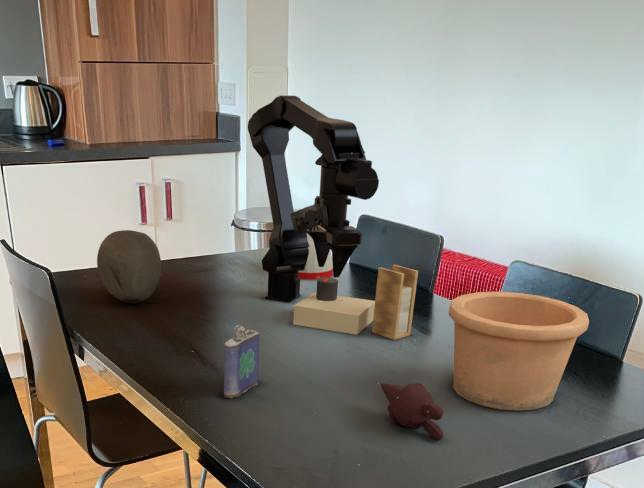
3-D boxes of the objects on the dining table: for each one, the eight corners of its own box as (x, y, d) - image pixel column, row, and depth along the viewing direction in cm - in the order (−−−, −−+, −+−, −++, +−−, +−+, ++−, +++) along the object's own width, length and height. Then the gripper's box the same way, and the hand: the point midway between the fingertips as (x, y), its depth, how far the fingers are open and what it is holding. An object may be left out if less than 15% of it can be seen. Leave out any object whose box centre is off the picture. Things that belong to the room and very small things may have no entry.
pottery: (481, 361, 147) (495, 284, 140) (592, 395, 134) (613, 312, 127) (412, 389, 134) (423, 305, 126) (527, 430, 120) (547, 339, 113)
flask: (233, 399, 127) (234, 335, 121) (218, 396, 128) (217, 332, 123) (261, 382, 134) (263, 321, 129) (246, 379, 135) (247, 318, 130)
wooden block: (291, 324, 163) (292, 304, 161) (313, 309, 174) (314, 290, 171) (356, 334, 159) (358, 314, 157) (375, 318, 169) (377, 299, 167)
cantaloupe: (175, 304, 173) (172, 234, 165) (115, 313, 166) (110, 240, 158) (146, 290, 183) (143, 222, 175) (89, 297, 176) (83, 227, 168)
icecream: (360, 374, 121) (420, 417, 111) (399, 356, 123) (462, 397, 113) (363, 411, 126) (421, 455, 115) (401, 393, 128) (461, 435, 117)
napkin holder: (371, 332, 160) (378, 267, 154) (388, 328, 163) (395, 264, 157) (394, 340, 157) (401, 274, 150) (410, 335, 159) (418, 270, 153)
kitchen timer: (315, 282, 194) (318, 218, 186) (268, 273, 200) (270, 211, 193) (342, 271, 204) (346, 211, 196) (297, 263, 210) (300, 204, 203)
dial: (320, 294, 169) (321, 275, 167) (339, 297, 168) (341, 277, 166) (313, 299, 166) (314, 279, 164) (332, 302, 164) (334, 282, 162)
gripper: (281, 185, 161) (278, 263, 169) (310, 200, 146) (306, 284, 154) (332, 185, 164) (327, 261, 172) (366, 199, 149) (359, 282, 157)
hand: (328, 271), depth 164 cm, fingers open, 9 cm apart
